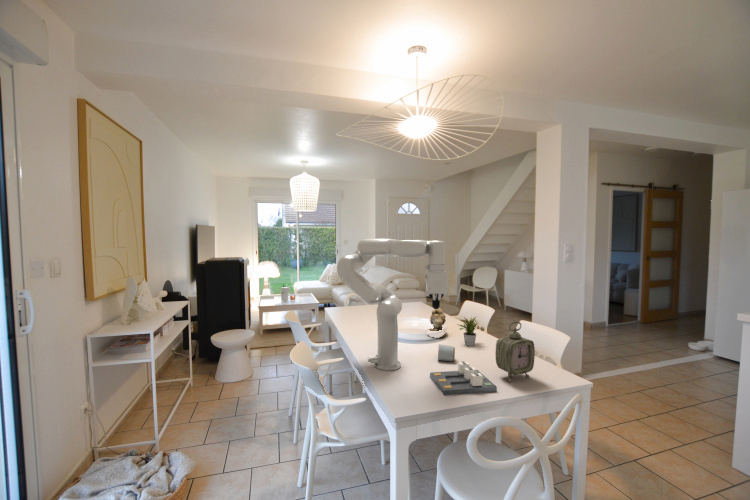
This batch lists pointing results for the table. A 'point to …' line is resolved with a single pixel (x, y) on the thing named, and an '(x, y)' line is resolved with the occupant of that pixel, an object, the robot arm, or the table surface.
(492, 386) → the board
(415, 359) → the table surface
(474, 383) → the near toggle
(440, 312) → the owl figurine
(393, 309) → the robot arm
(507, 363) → the tabletop clock
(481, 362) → the table surface
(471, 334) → the house plant
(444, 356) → the ceramic mug
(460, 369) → the far toggle
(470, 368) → the block
